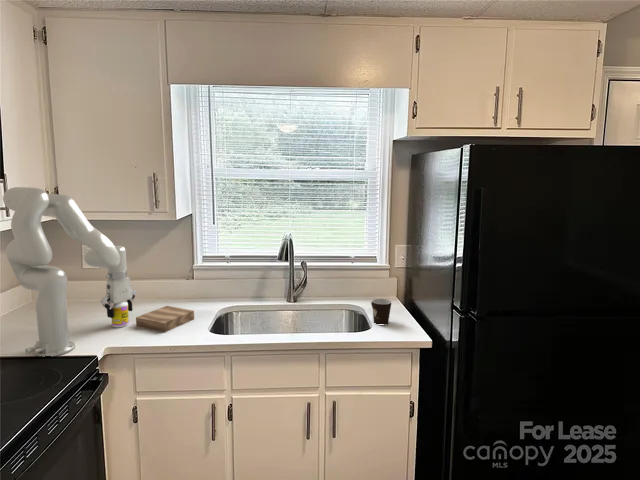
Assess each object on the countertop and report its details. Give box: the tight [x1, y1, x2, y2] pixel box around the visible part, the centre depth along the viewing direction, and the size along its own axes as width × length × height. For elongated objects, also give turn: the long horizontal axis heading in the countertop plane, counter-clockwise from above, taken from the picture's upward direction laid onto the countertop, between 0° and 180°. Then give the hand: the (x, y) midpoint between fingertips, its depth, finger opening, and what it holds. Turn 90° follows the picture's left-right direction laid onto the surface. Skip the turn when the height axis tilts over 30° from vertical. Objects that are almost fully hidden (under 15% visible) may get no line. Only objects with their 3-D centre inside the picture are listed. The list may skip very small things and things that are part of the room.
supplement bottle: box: [111, 300, 130, 328], centre depth 183 cm, size 7×7×13 cm
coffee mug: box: [370, 297, 392, 325], centre depth 191 cm, size 12×9×10 cm
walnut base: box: [135, 305, 195, 333], centre depth 187 cm, size 18×16×4 cm
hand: (120, 313), depth 183 cm, fingers open, 9 cm apart
